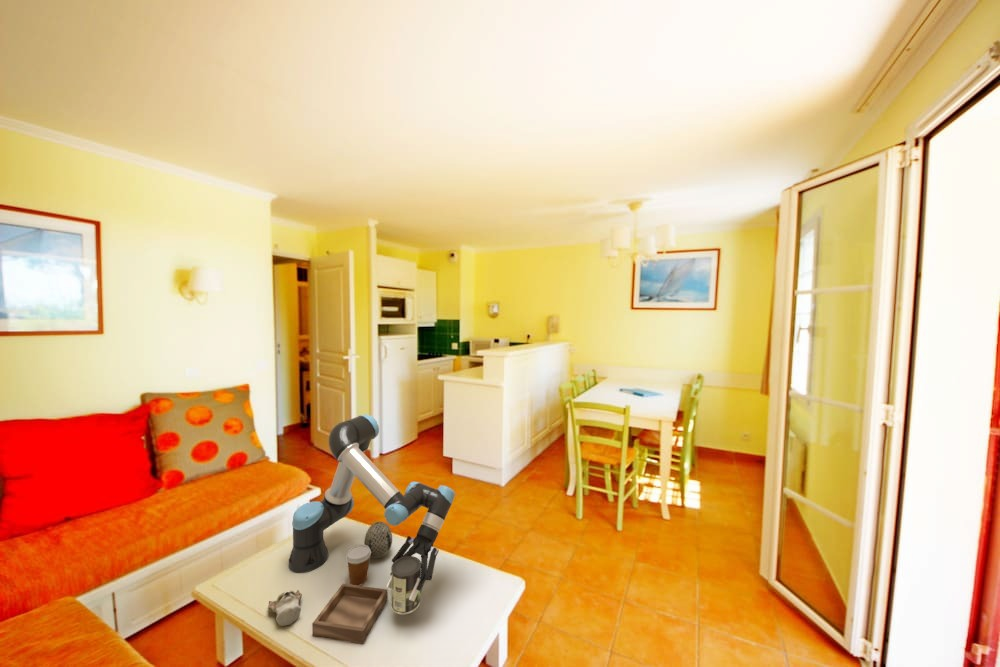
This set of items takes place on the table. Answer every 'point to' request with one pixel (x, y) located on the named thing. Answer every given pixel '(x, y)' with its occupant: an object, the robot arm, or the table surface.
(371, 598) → the box
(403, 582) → the coffee can
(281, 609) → the ceramic sculpture
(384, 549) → the decorative egg
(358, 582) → the disposable coffee cup
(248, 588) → the table surface
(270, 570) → the table surface
